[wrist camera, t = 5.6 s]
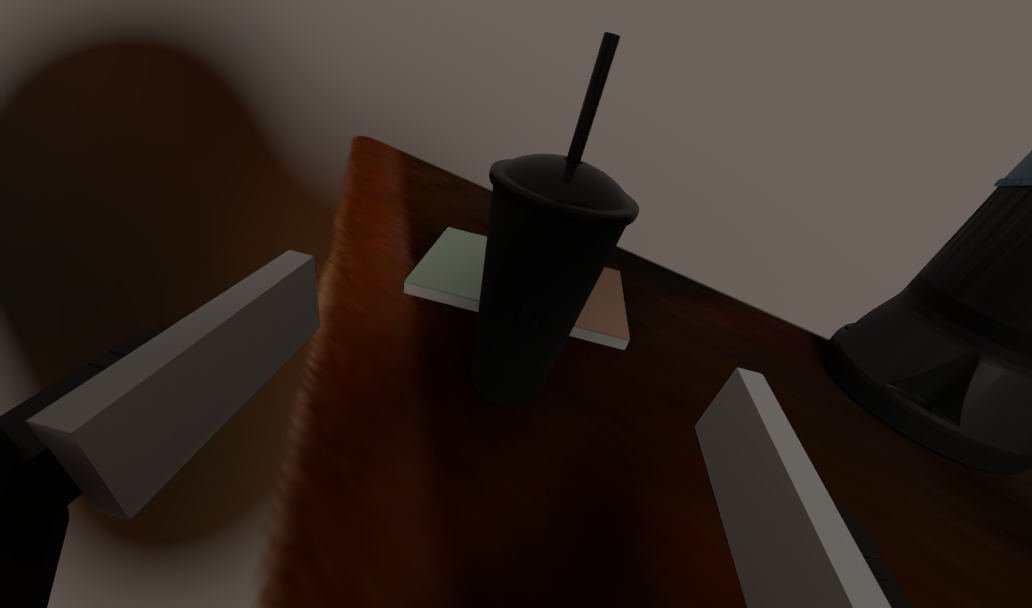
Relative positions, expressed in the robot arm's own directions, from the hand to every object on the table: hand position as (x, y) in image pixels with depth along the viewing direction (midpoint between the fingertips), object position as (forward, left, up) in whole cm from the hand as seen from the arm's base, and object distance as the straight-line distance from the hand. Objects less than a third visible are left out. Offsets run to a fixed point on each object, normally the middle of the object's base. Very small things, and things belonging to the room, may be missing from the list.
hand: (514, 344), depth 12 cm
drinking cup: (0, -10, -11) cm, 15 cm away
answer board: (0, -23, -11) cm, 25 cm away
